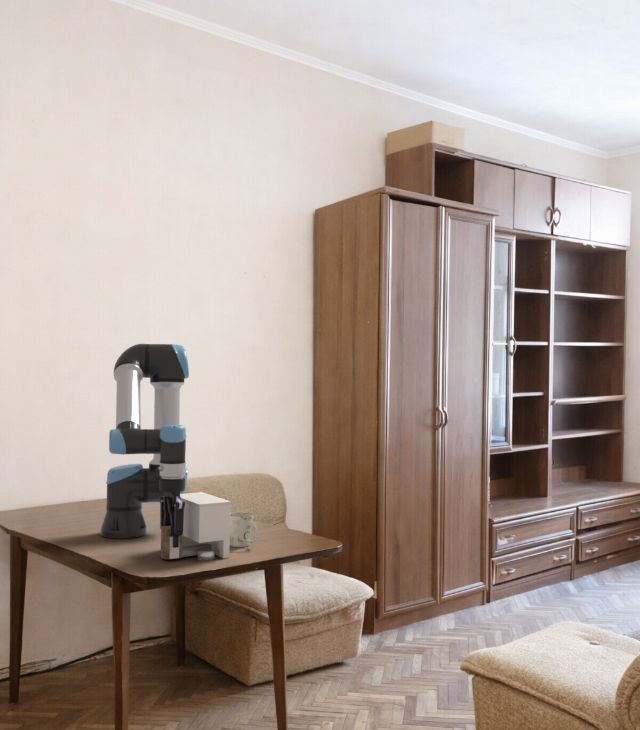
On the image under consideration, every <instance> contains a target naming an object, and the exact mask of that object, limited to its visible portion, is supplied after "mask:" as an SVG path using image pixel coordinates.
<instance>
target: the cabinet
mask: <svg viewBox="0 0 640 730" xmlns="http://www.w3.org/2000/svg"><path fill="white" fill-rule="evenodd" d="M180 497H181V502H183V501H184V502H185V506H184V521H183V535H182V547H185V546H193V545H201V544H210V545H212V549H213V550H215V556H217V557H218V558H219V557H220V558H221V559H228V558H230V552H231V551H230V547H231V545H230V513H231V505H232V501H230V500H227V499H224V498H222V497H217V496H215V495H212V494H209V493H206V492H203V491H200V492H189V493H188V492H187V493H186V492H185V494H180Z"/></svg>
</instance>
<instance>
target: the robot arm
mask: <svg viewBox="0 0 640 730" xmlns="http://www.w3.org/2000/svg"><path fill="white" fill-rule="evenodd" d="M189 368H190V367H189V360H188V354H187V350H186V347H185V346H184V345H182V344H173V343H170V344H169V343H166V344H165V343H164V344H163V343H162V344H161V343H159V344H158V343H157V344H156V343H137V344H134V345H131V346H129V347H128V348H127V349H125V350H124V351H123V352H122V353H121V354H120V355H119V356H118V358H117V360H116V362H115V364H114V368H113V379H114V380H115V382H116V401H115V402H116V403H115V407H116V408H115V429H110V430H109V432H108V433H109V435H108V436H109V437H108V438H109V439H108V441H109V442H108V444H109V445H108V446H109V447H108V451H109V453H111V454H112V455H123V456H124V455H149V454H151V455H153V458H152V459H151V460H150V461H149V462H148V467H147V468H146V467H145V468H144V466H143V464H142V463H129V464H128V463H127V464H124V465H122V464H121V465H117V466H113V467H111V468H110V469H109V470H108V471H107V474H106V477H107V478H106V482H105V483H106V508H105V509H106V510H105V514H104V518H103V521H102V524H101V527H100V536H101V537H102V538H107V539H133V538H140V537H143V536H146V535H147V531H148V530H147V524H146V520H145V517H144V514H143V511H142V510H143V509H142V508H143V505H142V504H143V503H146V504H147V503H160V507H159V508H160V516H159V517H160V518H159V521H160V524H159V526H160V527H159V528H160V530H161V526H170V525H171V535H169V537H170V552H169V558H170V559H169V560H174V558H176V559H180V558H179V536H180V535H183V521H184V506H185V502H184V501H183V502H181V497H180V494H185V493H186V488H187V483H188V473H189V470H188V468H187V467H186V464H187V463H186V451H187V450H186V447H187V444H186V443H187V429H186V426H185V425H183V424H180V415H181V414H180V411H181V410H180V405H181V402H180V401H181V400H180V399H181V397H180V396H181V392H180V391H181V387H182V386H184V384H185V380H186V379H188V378H189V377H190V373H189V371H190V369H189ZM143 378H144V379H145V378H147V379H149V381H150V382H149V384H150V385H151V386H152V387H153V388H154V398H153V399H154V401H153V402H154V405H153V406H154V407H153V408H154V409H153V410H154V413H153V414H154V415H153V418H154V419H153V428H151V429H150V428H149V429H147V428H145V429H144V428H143V429H142V425H141V423H142V421H141V419H142V418H141V416H142V414H141V408H142V407H141V381H143Z"/></svg>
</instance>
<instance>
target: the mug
mask: <svg viewBox="0 0 640 730" xmlns="http://www.w3.org/2000/svg"><path fill="white" fill-rule="evenodd" d="M252 528H253V530H254V537H253V538H252V539H251V535H252ZM258 538H259V528H258V526H257V524H256V523H255V522H254V513H253V512H247V511H234V512H230V547H233V548H246V547H249V546H250V544H253V543H254V542H256V541H257V540H258Z"/></svg>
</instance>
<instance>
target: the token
mask: <svg viewBox="0 0 640 730" xmlns="http://www.w3.org/2000/svg"><path fill="white" fill-rule="evenodd" d="M215 556H216V555H215V550H213V549H200V550H198V555H197V560H198V561H201V562H203V561H205V562H207V561H209V562H210V561H213V560H215Z"/></svg>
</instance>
